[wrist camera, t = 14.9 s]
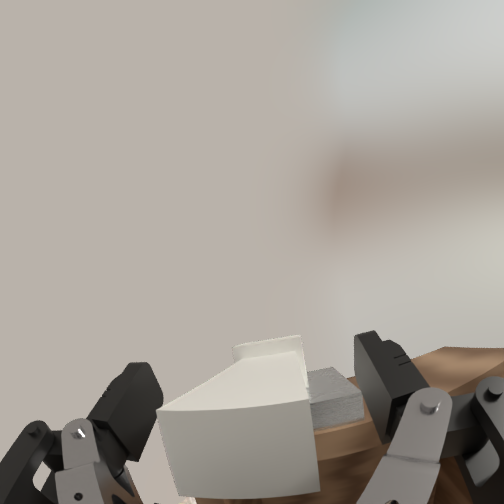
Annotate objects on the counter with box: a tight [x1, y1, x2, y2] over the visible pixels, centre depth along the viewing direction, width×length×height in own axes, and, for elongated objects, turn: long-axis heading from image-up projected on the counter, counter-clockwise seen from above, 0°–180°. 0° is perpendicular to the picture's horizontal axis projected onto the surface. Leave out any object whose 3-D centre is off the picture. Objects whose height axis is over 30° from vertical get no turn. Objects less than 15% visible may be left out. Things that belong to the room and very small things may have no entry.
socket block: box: [306, 367, 365, 432], centre depth 19 cm, size 11×12×2 cm
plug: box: [156, 335, 320, 499], centre depth 16 cm, size 5×22×4 cm, turn 172°
